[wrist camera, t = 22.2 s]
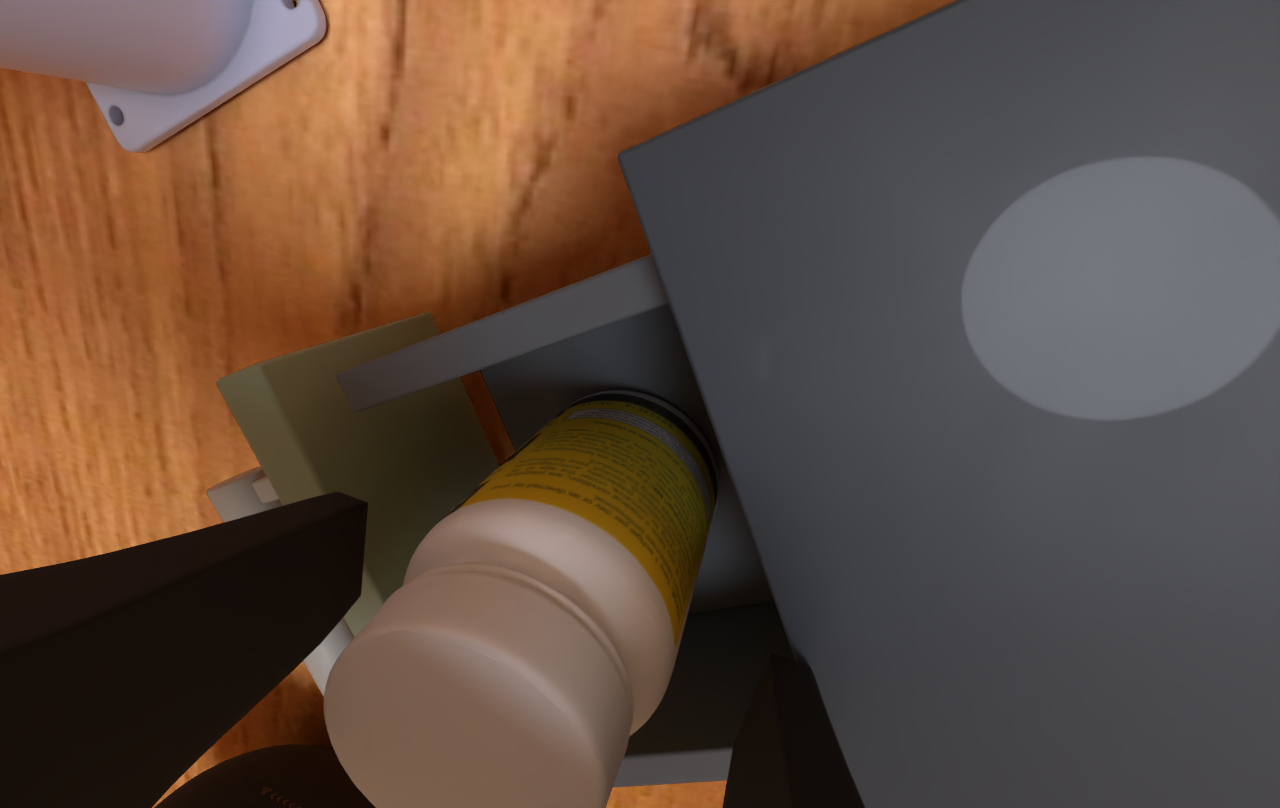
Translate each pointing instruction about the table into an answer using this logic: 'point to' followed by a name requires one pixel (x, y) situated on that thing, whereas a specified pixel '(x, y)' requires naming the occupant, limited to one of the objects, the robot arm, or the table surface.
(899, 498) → the cabinet
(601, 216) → the table surface
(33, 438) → the table surface
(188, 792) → the speaker
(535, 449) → the supplement bottle
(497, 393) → the drawer
